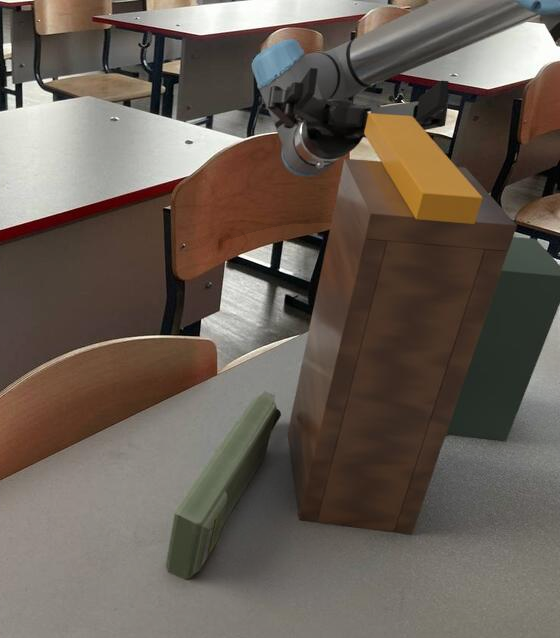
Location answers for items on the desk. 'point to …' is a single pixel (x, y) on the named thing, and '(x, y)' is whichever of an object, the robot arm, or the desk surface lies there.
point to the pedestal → (509, 342)
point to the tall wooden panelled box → (388, 350)
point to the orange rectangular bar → (422, 170)
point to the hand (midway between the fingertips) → (377, 87)
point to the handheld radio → (220, 487)
